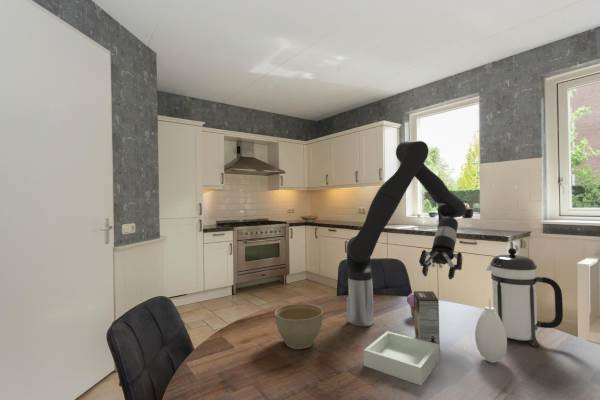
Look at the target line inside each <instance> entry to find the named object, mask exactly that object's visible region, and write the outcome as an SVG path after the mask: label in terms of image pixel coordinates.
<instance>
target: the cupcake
mask: <svg viewBox="0 0 600 400" xmlns="http://www.w3.org/2000/svg"><path fill="white" fill-rule="evenodd" d="M406 303H407V304H408V305H409V306H410V313H411V317H412V318H414V319H415V314H414V291H413V292H411V293H410V294H409V295H408V296H407V297H406Z"/></svg>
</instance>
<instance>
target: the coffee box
mask: <svg viewBox="0 0 600 400" xmlns="http://www.w3.org/2000/svg"><path fill="white" fill-rule="evenodd" d="M413 292H414V314H415V318H414V338H416V339H420V340H424V341H428V342H432V343H435V344H439V352H440V351H441V344H440V343H441V342H440V339H441V337H440V305H439V304H440V303H439V301H440V300H439V298H437V295H436V294H435V293H434V291H432V290H431V291H423V290H422V291H419V290H418V291H417V290H415V291H413Z"/></svg>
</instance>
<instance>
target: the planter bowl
mask: <svg viewBox="0 0 600 400" xmlns="http://www.w3.org/2000/svg"><path fill="white" fill-rule="evenodd" d="M323 314H324V311H323V309H322V308H321V307H320V306H318V305H315V304H310V303H292V304H287V305H282V306H281V307H278V308H277V309H276V310H275V311H274V317H275V324H276V328H277V331H278V333H279V334H280V336H281V339H283V340H284V344H285V345H287V346H286V347H288V348H289V347H290V349H292V348H293V350H303V349H309V348H310V347H312V346H313V345H314V344H315V340H316V339H317V337H318V336H319V333H320V330H321V328H322V324H323Z"/></svg>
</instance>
